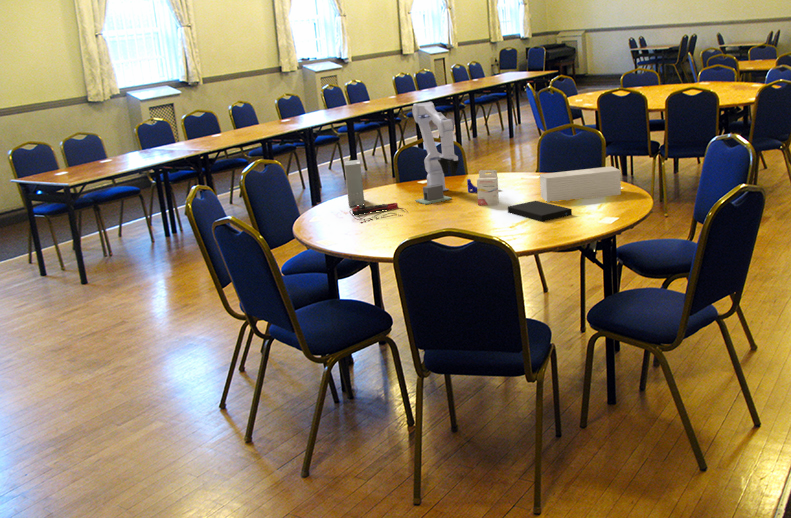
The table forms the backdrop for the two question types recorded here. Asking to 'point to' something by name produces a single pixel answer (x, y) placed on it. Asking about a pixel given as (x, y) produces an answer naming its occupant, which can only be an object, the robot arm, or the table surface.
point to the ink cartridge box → (487, 188)
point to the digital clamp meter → (374, 209)
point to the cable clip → (471, 187)
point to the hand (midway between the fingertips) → (449, 174)
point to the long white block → (580, 184)
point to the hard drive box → (354, 182)
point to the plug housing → (433, 192)
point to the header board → (432, 200)
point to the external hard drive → (539, 211)
